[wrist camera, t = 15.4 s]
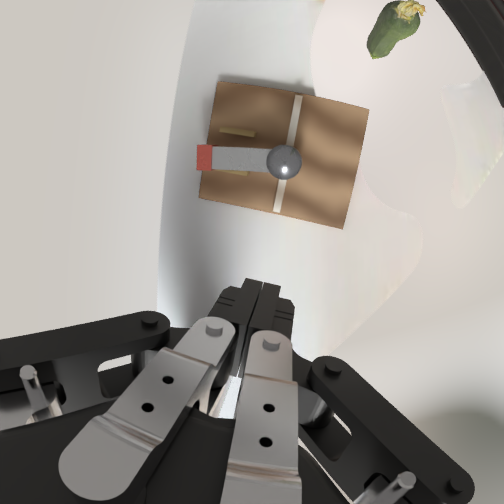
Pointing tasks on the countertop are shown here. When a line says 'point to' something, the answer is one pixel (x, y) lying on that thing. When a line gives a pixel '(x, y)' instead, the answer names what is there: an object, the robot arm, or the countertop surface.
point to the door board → (296, 135)
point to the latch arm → (251, 159)
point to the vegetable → (394, 26)
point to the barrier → (482, 35)
